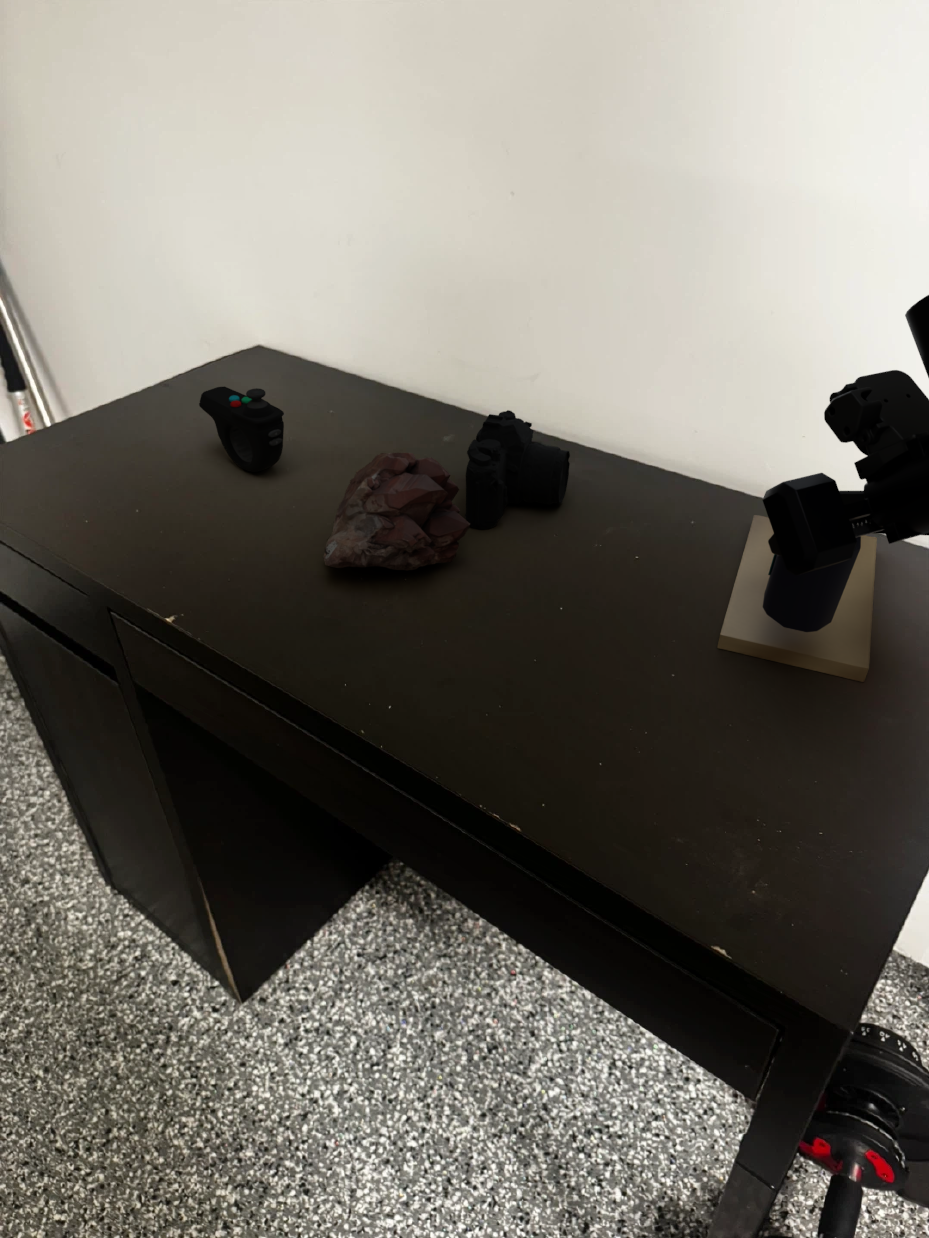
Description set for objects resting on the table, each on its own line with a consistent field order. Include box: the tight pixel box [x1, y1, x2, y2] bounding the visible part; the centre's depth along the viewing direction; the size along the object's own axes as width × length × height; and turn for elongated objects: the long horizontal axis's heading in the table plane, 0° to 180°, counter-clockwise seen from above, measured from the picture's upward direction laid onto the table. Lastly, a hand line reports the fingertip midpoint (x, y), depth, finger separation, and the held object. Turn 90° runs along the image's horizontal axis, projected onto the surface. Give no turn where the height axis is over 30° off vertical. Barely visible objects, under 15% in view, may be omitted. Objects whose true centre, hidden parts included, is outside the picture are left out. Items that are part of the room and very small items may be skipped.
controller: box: [198, 386, 285, 473], centre depth 101 cm, size 4×12×10 cm, turn 47°
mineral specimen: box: [322, 452, 471, 572], centre depth 85 cm, size 12×13×15 cm
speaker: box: [763, 490, 865, 632], centre depth 70 cm, size 8×6×10 cm
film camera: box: [464, 409, 571, 530], centre depth 95 cm, size 15×10×9 cm, turn 163°
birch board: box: [716, 514, 878, 683], centre depth 83 cm, size 12×22×2 cm, turn 158°
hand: (811, 535), depth 70 cm, fingers closed on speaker, 7 cm apart
